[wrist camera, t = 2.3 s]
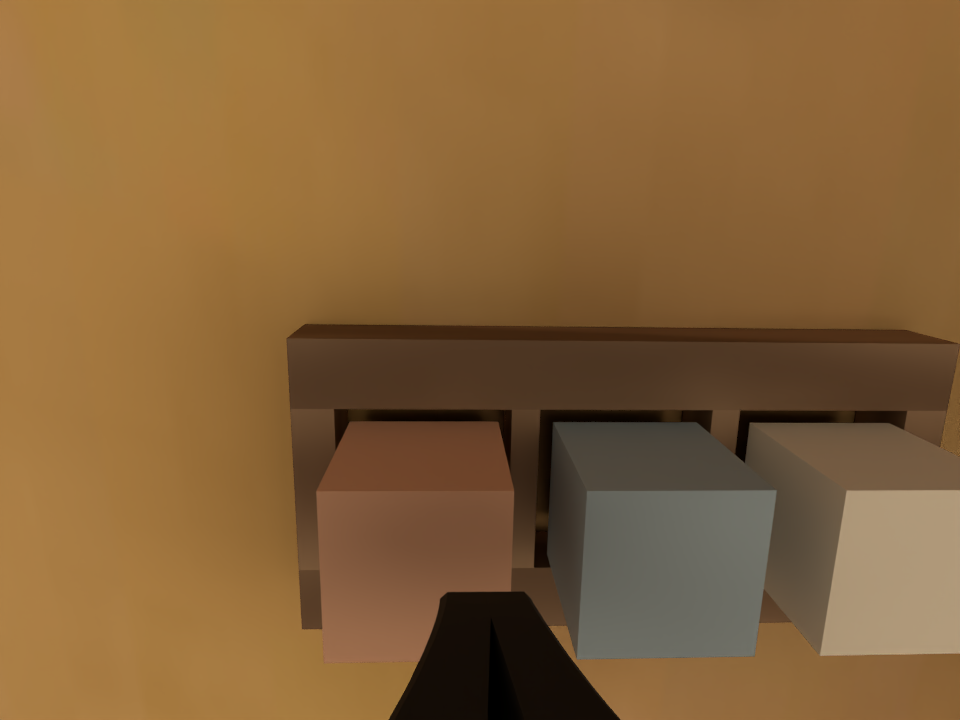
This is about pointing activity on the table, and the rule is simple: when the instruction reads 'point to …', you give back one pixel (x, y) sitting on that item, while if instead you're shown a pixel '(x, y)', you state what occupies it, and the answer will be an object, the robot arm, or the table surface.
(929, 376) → the socket board
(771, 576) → the cream key
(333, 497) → the terracotta key
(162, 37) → the table surface
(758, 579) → the slate blue key
